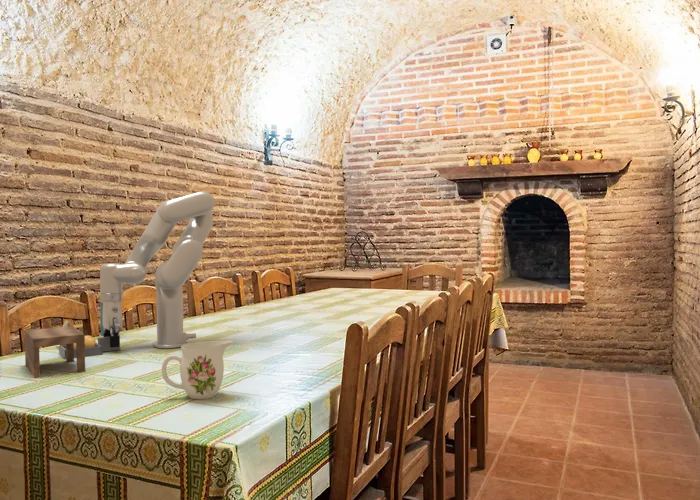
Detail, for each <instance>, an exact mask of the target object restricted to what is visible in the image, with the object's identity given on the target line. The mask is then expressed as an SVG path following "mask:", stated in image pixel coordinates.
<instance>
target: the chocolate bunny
mask: <svg viewBox="0 0 700 500" xmlns="http://www.w3.org/2000/svg"><path fill="white" fill-rule="evenodd" d="M70 326H71V323H70V322H69V320H65V321H64V322H63V324H62V326H61V327H70ZM61 345H66V344H61ZM61 345H59V346H61Z"/></svg>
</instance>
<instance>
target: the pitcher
mask: <svg viewBox="0 0 700 500" xmlns="http://www.w3.org/2000/svg"><path fill="white" fill-rule="evenodd" d="M233 342H234V340H210V341H207V340H206V341H195V342H188V344H184V345H182V346H181V347H180V349H181V353H182V356H180V355H177V354H169V355H168V356H167V357H165V358H164V360H163V361H162V364H161V375H162V379H163V380H164V382H165V383H166V384H167V385H169V386H170V387H172V388H175V389H178V390H179V389H180V390H184V392H185V394H187V396H188V397H189V398H190V399H193V400H206V399H210V398H211V399H212V398H214V397H215V396H216V395H217V393H218V392H219V390H220V388H221V385H222V382H223V380H224V379H223V378H224V371H225V366H224V358H223V355H224V353H225V351H226V349H227V348H228V347H229V346H230V345H231V344H233ZM170 361H177V362H179V363H180V365H179V375H180V380H181V382H176V381H174V380H172V379H171V378H170V377H169V375H168V373H167V366H168V364H169V362H170Z"/></svg>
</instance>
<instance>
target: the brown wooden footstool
mask: <svg viewBox="0 0 700 500" xmlns="http://www.w3.org/2000/svg"><path fill="white" fill-rule="evenodd" d="M85 336H86V335H85V334H84V333H83V332H81V331H80V330H78V329H77V328H75V327H74V326H73V325H72V326H71V325H70V327H62V326H59V327H49V328H37V329H36V328H35V329H25V330H24V350H25V351H24V355H25V356H24V357H25V360H24V361H25V368H27V370H28V371H29V373H30V374H31V376H32V377H33V378H35V379H36V378H40V377H41V372H40V371H41V368H40V367H41V366H40V365H41V364H40V347H49V346H60V345H61V344H66V359H65V361H66V362H67V363H70V362H75V358H74V343H76V350H77V358H76V371H77V372H78V373H82V372H86V357H85Z"/></svg>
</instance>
